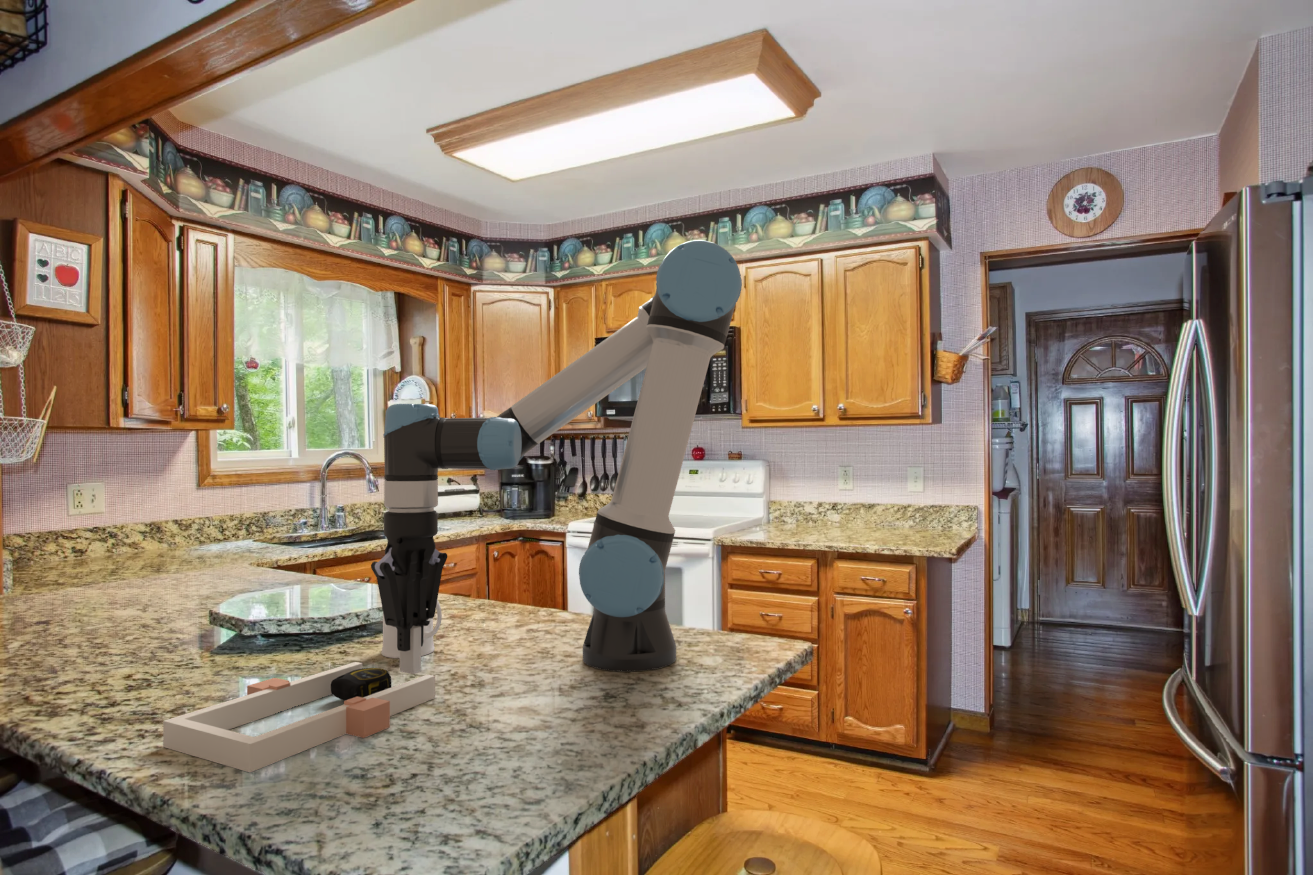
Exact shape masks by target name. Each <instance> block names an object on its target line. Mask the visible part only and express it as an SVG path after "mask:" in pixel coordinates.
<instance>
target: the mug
mask: <svg viewBox="0 0 1313 875" xmlns="http://www.w3.org/2000/svg"><path fill="white" fill-rule="evenodd" d="M426 610H428V609H426ZM435 611H436V618H437V619H436V624H435V625H434V617H433V618H432V619H431V618H429V619H428V620H427V621H430V623H429V625H428V626H424V627H423V646H421V657H423V656H427V655H429V654H432V653H433V652H434V651H435V649H436V648H435V644H434V636H435V635H436V634H437V632H438V631H439V630H440V627H441V625H442V620H443V618H442V617H443V616H442V614H443V613H442V607H441V605H440V602H439V600H438V599H437V604H436V610H435ZM380 651H381V656H383V657H386V658H390V659H400V651H399V650H398V648H397V628H396V627H393V626H390V625H386V623H385V619H384V614H383V613H382V648H381V650H380Z"/></svg>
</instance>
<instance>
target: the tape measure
mask: <svg viewBox="0 0 1313 875" xmlns="http://www.w3.org/2000/svg"><path fill="white" fill-rule="evenodd" d="M391 687H392V676H391V675H390V672H389V671H388V670H387V669H386V668H385V669H384V668H381V667H365V668H364V667H363V669H357V670H353V671H351V672H348V673H346V674H344V675H342V676H339V677H337V678H335V679H334V680H332V682H331V693H332V694H331V695H332V696H334V697H336V698H337V699H340V700H343V701H346V700H348V699H351V698H354V697H362V698H363V697H366V696H369V695H372V694H375V693H377V692H380V691H383V690H386V689H388V688H391Z"/></svg>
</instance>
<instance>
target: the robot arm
mask: <svg viewBox="0 0 1313 875" xmlns="http://www.w3.org/2000/svg"><path fill="white" fill-rule="evenodd" d="M655 278H656V279H655V281H656V282H655V284H656V286H655V287H656V290H655V293H654V296H652V297H650V299H648V300H647V301H646V302H644V303H643V304H642V305H640V306H639V307H638V313H637V316H636V317H635V318H633V319H631V321H629V322H628V323H626V324H625V325H624V326H623V325H622V327H620V328H619V329H617V330H616V331H615V332H614V333H612V334H611V335H610V336H608V337H607V338H605V339H604V340H602V341H600V343H598V344H597V345H595V346H594V347H593V348H591V349H590V350H589V351H587V352H586V353H584V354H583V355H581V356H580V357H578V358H577V359H575V360H574V361H573V362H571V363H570V364H569V365H568V366H566V367H564V368H563V369H562V370H561V371H559V372H558V373H556V374H555V375H553V376H552V377H551V378H549V379H547V380H545V382H543V383H542V384H540V385H539V386H538V387H537V388H535V389H533V390H532V391H531V392H530V393H528V394H527V395H525V396H524V397H522V398H521V399H519V400H518V401H517V402H515V403H514V404H512V406H510V407H509V408H507V409H506V410H504V411H502V412H501V413H500V414H499V415H496V416H490V417H457V418H456V417H455V418H454V417H453V418H452V417H451V418H449V417H441V416H440V414H439V409H438V407H437V406H436V405H435V404H428V403H394V404H391V405H390V406H388V407H387V409H386V410H385V419H384V420H385V421H384V430H383V431H384V432H383V434H382V435H383V436H382V437H383V438H384V439H383V442H384V443H383V448H384V449H383V450H384V451H383V452H384V454H383V455H384V458H383V460H384V478H383V480H384V481H383V488H384V489H383V490H384V492H383V493H384V494H383V496H384V498H383V499H384V500H383V506H384V507H385V508H386V509H388V510H387V511H385V513H384V514H383V535H384V536H385V538H386V539H387V540H386V541H387V543H386V547H385V550H384V556H382V558H381V559H380V560H378V561H372V562H371V565H370V568H371V570H372V572H373V574H374V575H375V578H376V581H377V582H376V583H377V587H378V591H379V597H380V604H381V608H382V615H383V614H384V619H385V623H386V625H390V626H393V627H396V628H397V648H398V650H399V651H400V658H399V672H401V673H404V674H405V673H406V674H412V675H414V674H418V673H420V672H422V656H421V646H423V627H424V626H428V625H429V623H430V621H427V620H428V619H429V618H431V619H432V618H433V619H434V617H435V615H436V611H437V610H436V604H437V600H438V597H439V590H440V586H441V580H442V576H443V569H444V567H445V565H446V562H447V559H448V553H447V552H441V551H439V550H438V549H437V548H436V546H437V545H436V543H435V540H434V537H435V536H437V534H438V533H439V532H438V528H439V525H438V520H439V519H438V518H439V516H438V515H439V513H438V512H437V510H435V508H436V507H438V506H439V475H438V473H439V469H442V470H448V469H456V470H457V469H459V470H490V471H501V470H505V469H506V470H507V469H511V470H512V469H514V468H516V467H517V466H518V464H519V462H520V461H521V460H522V459H523V458H524V456H525V454H527V453H529V451H531V450H532V449H534V448H535V447H536V446H537V445H539V444H540V443H542V442H543V441H544V440H546V439H547V438H549V437H550V436H552V435H553V434H554V433H556V432H557V431H559V430H560V429H561V428H563V427H564V426H566V425H567V424H568V423H571V421H573V420H574V419H575V418H577V417H578V416H580V415H581V414H583V413H584V412H586V411H587V410H589V409H590V408H592V406H594V405H596V404H597V403H598V402H600V401H601V400H603V399H604V398H605V397H607V396H608V395H610V394H611V393H612V392H614V391H615V390H617V389H618V388H619V387H621V386H622V385H623V384H625V383H627V382H628V381H629V380H631V379H632V378H634V377H635V376H637V375H638V374H639V373H641V372H642V371H644V370H645V372H644V376H643V380H642V383H641V387H640V390H639V393H638V394H639V395H638V399H637V403H636V406H635V410H634V414H633V417H632V420H631V426H630V427H629V428H630V429H629V432H628V436H627V439H626V444H625V447H624V451H623V456H622V459H621V463H620V466H619V470H618V474H617V478H616V481H615V485H614V488H613V493H612V495H611V500H610V502H608V503H607V504H606V505H605V504H604V506H603V507H600V508H599V509H598V510H597V512H596V517H595V520H594V522H593V527H592V531H591V535H590V538H589V541H588V542H589V543H588V546H587V549H586V551H585V552H584V554H583V556H582V558H581V559H580V563H579V568H578V578H579V585H580V589H581V592H582V593H583V595H584V597H585V598H586V600H587V602H588V603H589V604H590V605H591V606H592V607H593V612H592V615H591V619H590V622H589V626H588V629H587V632H586V635H585V638H584V641H583V644H582V662H583V663H584V664H586V665H588V666H589V667H592V668H595V669H599V670H603V671H613V672H643V671H650V670H657V669H661V668H664V667H667V666H670V665H672V664H673V663H675V662H676V661H677V645H676V644H677V643H676V641H675V637H674V634H673V632H672V628H671V625H670V621H669V619H668V616H667V612H666V567H667V564H668V561H669V557H670V552H671V549H672V546H673V541H674V537H675V535H676V534H675V533H676V529H675V527H674V526H673V523H672V522H671V520H670V516H669V515H670V512H671V508H672V504H673V501H674V497H675V494H676V493H675V492H676V489H677V485H678V481H679V477H680V473H681V470H682V466H683V462H684V459H685V456H686V455H685V454H686V451H687V448H688V444H689V440H690V436H691V432H692V428H693V425H694V421H695V417H696V413H697V410H698V405H699V402H700V398H701V394H702V390H703V387H704V383H705V379H706V375H707V372H708V368H709V364H710V361H711V358H712V357H713V356H714V355H715V354H717V353H719V352H720V351H722V350H724V348H725V344H726V341H727V337H728V334H729V330H730V328H731V327H730V326H731V322H732V319H733V315H734V313H735V312H734V311H735V308H736V304H737V302H738V300H739V299H740V296H741V293H742V292H741V291H742V287H743V283H742V282H743V279H742V275H741V271H740V268H739V265H738V263H737V262H736V260H735V258H734V257H733V256H732V254H731V253H730V252H729V251H728V250H727V249H725V248H724V247H722V246H721V245H720V244H717V243H715V242H712V241H708V240H703V239H702V240H701V239H697V240H689V241H686V242H683V243H681V244H679V245H677V246H675V247H674V248H673V249H671V250H670V251H669V252H668V253H667V254H666V256H665V257H664V258H663V260H661V263H660V265H659V267H658V269H657V272H656V277H655ZM426 609H428V610H426Z"/></svg>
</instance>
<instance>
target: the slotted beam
mask: <svg viewBox="0 0 1313 875" xmlns="http://www.w3.org/2000/svg"><path fill="white" fill-rule="evenodd" d="M363 668H364V667H363V662H358V661H357V662H356V661H353V662H350V663H347V664H344V665H341V666H338V667H334V668H331V669H328V670H325V671H321V672H318V673H315V674H312V675H307V676H305V677H302V678H299V679H295V680H292V681H290V680H287V679H282V678H278V677H272V678H269V679H266V680H262V681H258V682H256V683H252V684H249V685H247V686H246V692H247V693H246V695H243V696H240V697H236V698H234V699H230V700H227V701H223V702H220V703H218V704H213V705H210V706H207V707H203V708H201V709H197V710H195V711H191V712H188V713H184V714H181V715H178V716H174V717H172V718H168V719H166V720H165V719H164V720H163V724H162V726H163V728H162V730H163V732H162V734H163V736H162V737H163V740H162V744H163V745H162V747H163V748H166V749H168V750H173V751H176V752H180V753H183V754H186V755H190V756H193V757H196V758H200V759H203V760H206V761H208V762H209V761H211V762H214V763H217V764H221V765H223V766H226V767H229V768H234V769H237V770H240V771H244V772H248V773H252V772H255V771H257V770H260V769H263V768H265V767H267V766H268V767H269V766H270V765H272V764H275V763H277V762H279V761H282V760H285V759H287V758H291V757H292V756H295V755H298V754H299V753H302V752H304V751H306V750H310V749H312V748H315V747H316V746H319V745H322V744H325V743H326V742H329V741H332V740H334V739H337V738H340V737H342V736H344V735H350V736H354V737H358V738H362V739H364V738H368V737H369V736H372V735H375V734H377V733H380V732H382V731H384V730H386V729H389V728H390V727H391V725H390V724H391V723H390V722H391V717H392V716H394V715H396V714H398V713H401V712H403V711H406V710H409V709H411V708H414V707H416V706H418V705H420V704H424V703H425V702H428V701H431V700H433V699H436V675H432V674H431V675H430V674H424V675H421V676H419V677H417V678H414V679H411V680H408V681H405V682H402V683H400V684H397V685H394V686H391V688H388V689H386V690H383V691H380V692H377V693H375V694H372V695H369V696H366V697H363V698H362V697H354V698H351V699H348V700H346V701H345V700H343V704H342V705H339V706H336V707H332V708H331V709H328V710H325V711H323V712H319V713H317V714H314V715H311V716H308V717H305V718H303V719H300V720H297V721H295V722H292V723H289V724H286V725H283V726H281V727H278V728H274V729H273V730H272V729H271V730H270V731H267V732H264V733H262V734H259V735H256V736H251V735H248V734H244V733H241V732H236V731H234V730H231V729H235V728H238V727H241V726H243V725H246V724H249V723H252V722H255V721H258V720H261V719H264V718H266V717H269V716H272V715H276V714H278V712H279V713H281V712H280V711H282V712H284V710H285V711H288V710H290V709H293V708H295V707H294V706H296V707H299V706H302V705H305V704H307V703H311V702H315V701H317V700H319V699H322V697H323V698H325V697H329V696H331V695H333V694H332V693H331V682H332V680H334V679H335V678H337V677H339V676H342V675H344V674H346V673H348V672H351V671H353V670H357V669H363ZM328 695H329V696H328ZM304 703H305V704H304ZM301 704H302V705H301ZM298 705H299V706H298ZM292 707H293V708H292ZM289 708H290V709H289ZM287 709H288V710H287ZM275 713H276V714H275Z"/></svg>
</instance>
